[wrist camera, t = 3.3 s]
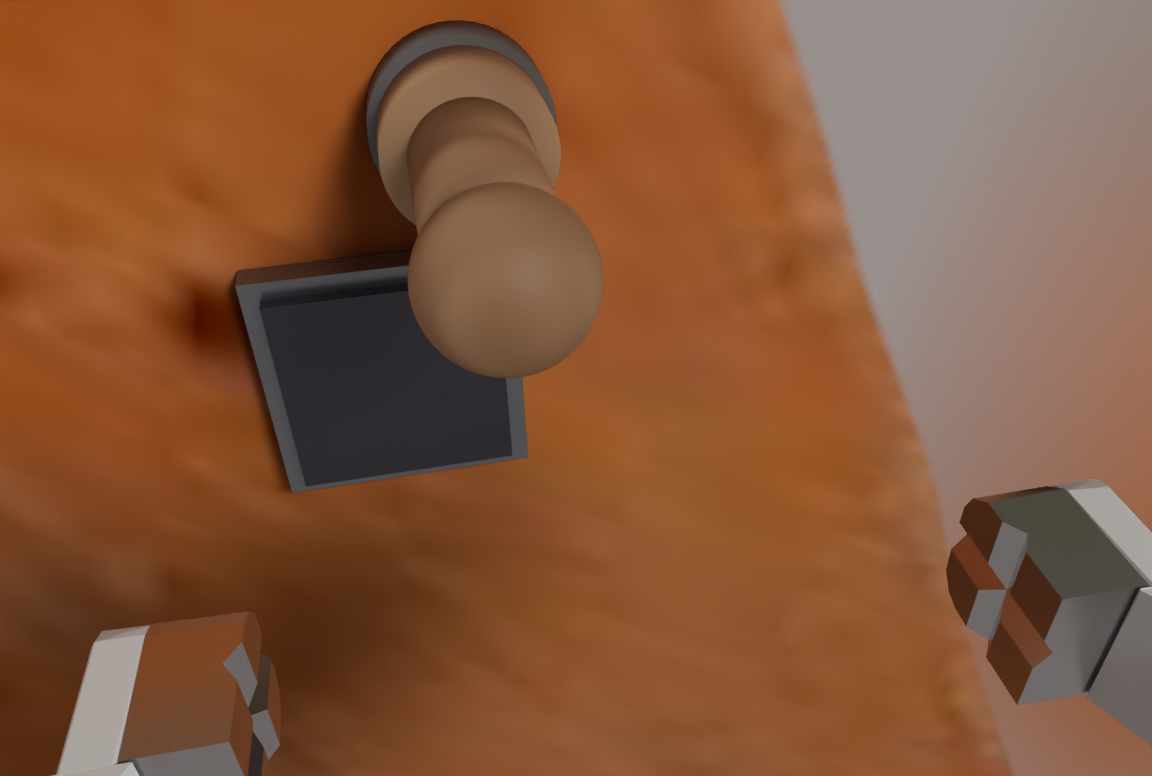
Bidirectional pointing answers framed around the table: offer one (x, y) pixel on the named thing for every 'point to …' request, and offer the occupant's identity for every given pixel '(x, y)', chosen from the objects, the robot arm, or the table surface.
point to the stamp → (482, 200)
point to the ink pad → (367, 377)
